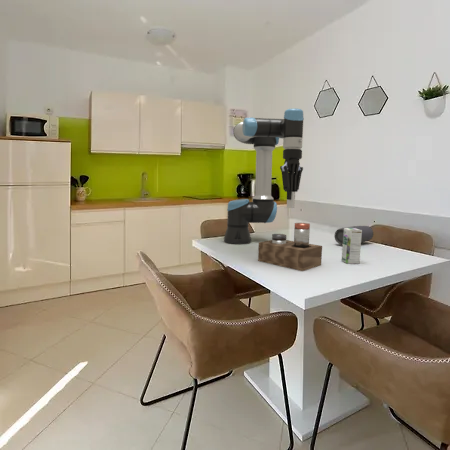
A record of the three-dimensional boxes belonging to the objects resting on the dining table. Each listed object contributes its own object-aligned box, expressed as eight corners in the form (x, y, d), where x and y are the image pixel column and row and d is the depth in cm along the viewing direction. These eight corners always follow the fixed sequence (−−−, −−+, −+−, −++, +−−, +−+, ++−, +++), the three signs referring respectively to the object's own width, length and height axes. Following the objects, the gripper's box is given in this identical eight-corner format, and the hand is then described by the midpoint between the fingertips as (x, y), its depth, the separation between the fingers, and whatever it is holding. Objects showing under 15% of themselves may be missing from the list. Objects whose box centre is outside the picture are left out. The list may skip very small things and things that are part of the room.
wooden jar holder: (258, 260, 148) (258, 242, 146) (277, 255, 157) (278, 238, 156) (302, 271, 132) (303, 250, 131) (321, 264, 142) (322, 245, 141)
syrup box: (340, 260, 150) (343, 227, 148) (354, 260, 151) (356, 227, 149) (346, 263, 145) (348, 229, 143) (360, 263, 145) (362, 229, 143)
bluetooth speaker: (359, 241, 199) (360, 224, 198) (373, 243, 191) (375, 226, 190) (332, 244, 187) (333, 226, 185) (347, 247, 179) (348, 228, 178)
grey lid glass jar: (268, 257, 148) (269, 234, 147) (276, 255, 153) (277, 233, 151) (280, 260, 144) (280, 236, 143) (288, 257, 149) (289, 235, 147)
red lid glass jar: (290, 247, 140) (291, 223, 139) (298, 246, 144) (299, 222, 143) (303, 250, 136) (304, 225, 134) (311, 248, 140) (312, 223, 139)
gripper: (290, 147, 132) (288, 208, 134) (309, 149, 141) (307, 207, 143) (275, 148, 137) (273, 207, 140) (294, 150, 146) (292, 206, 149)
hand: (290, 207), depth 141 cm, fingers closed
